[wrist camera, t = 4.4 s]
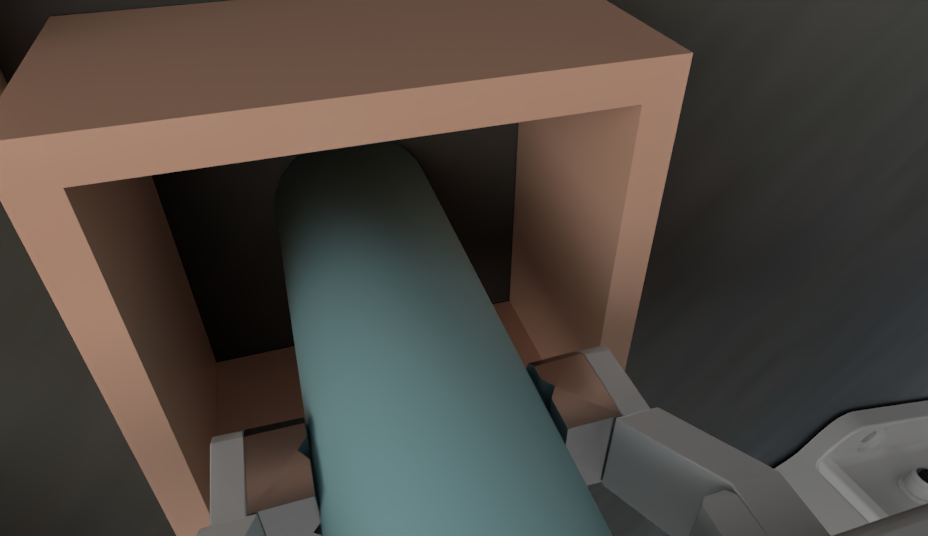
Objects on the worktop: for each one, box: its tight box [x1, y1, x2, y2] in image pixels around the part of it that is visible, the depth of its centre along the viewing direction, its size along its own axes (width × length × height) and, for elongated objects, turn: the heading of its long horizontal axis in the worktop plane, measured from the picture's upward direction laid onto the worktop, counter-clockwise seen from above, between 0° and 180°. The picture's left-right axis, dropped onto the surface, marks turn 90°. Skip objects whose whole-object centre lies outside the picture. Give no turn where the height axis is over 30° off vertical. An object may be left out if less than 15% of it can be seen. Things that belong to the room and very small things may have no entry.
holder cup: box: [0, 0, 693, 536], centre depth 15 cm, size 11×11×6 cm
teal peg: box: [275, 141, 613, 536], centre depth 12 cm, size 4×4×14 cm
